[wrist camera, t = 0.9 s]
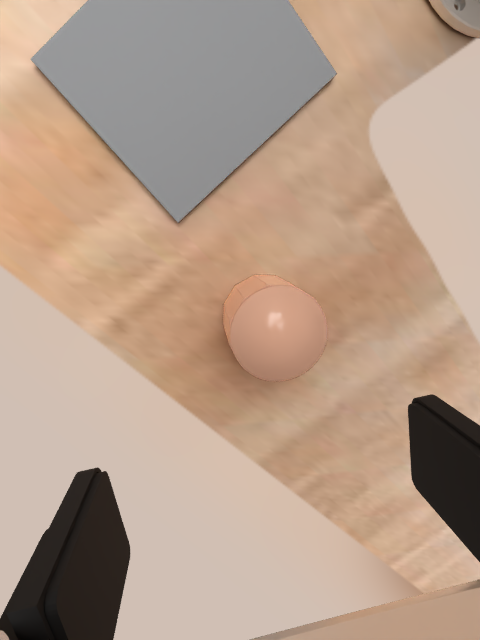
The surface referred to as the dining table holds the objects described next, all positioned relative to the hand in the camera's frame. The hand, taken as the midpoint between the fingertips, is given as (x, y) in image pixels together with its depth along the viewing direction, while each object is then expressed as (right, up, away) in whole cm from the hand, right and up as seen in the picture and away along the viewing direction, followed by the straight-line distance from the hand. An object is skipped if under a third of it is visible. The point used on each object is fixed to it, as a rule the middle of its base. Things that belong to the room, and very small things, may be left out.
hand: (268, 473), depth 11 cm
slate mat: (-4, +23, +15) cm, 27 cm away
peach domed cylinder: (+1, +5, +20) cm, 21 cm away
